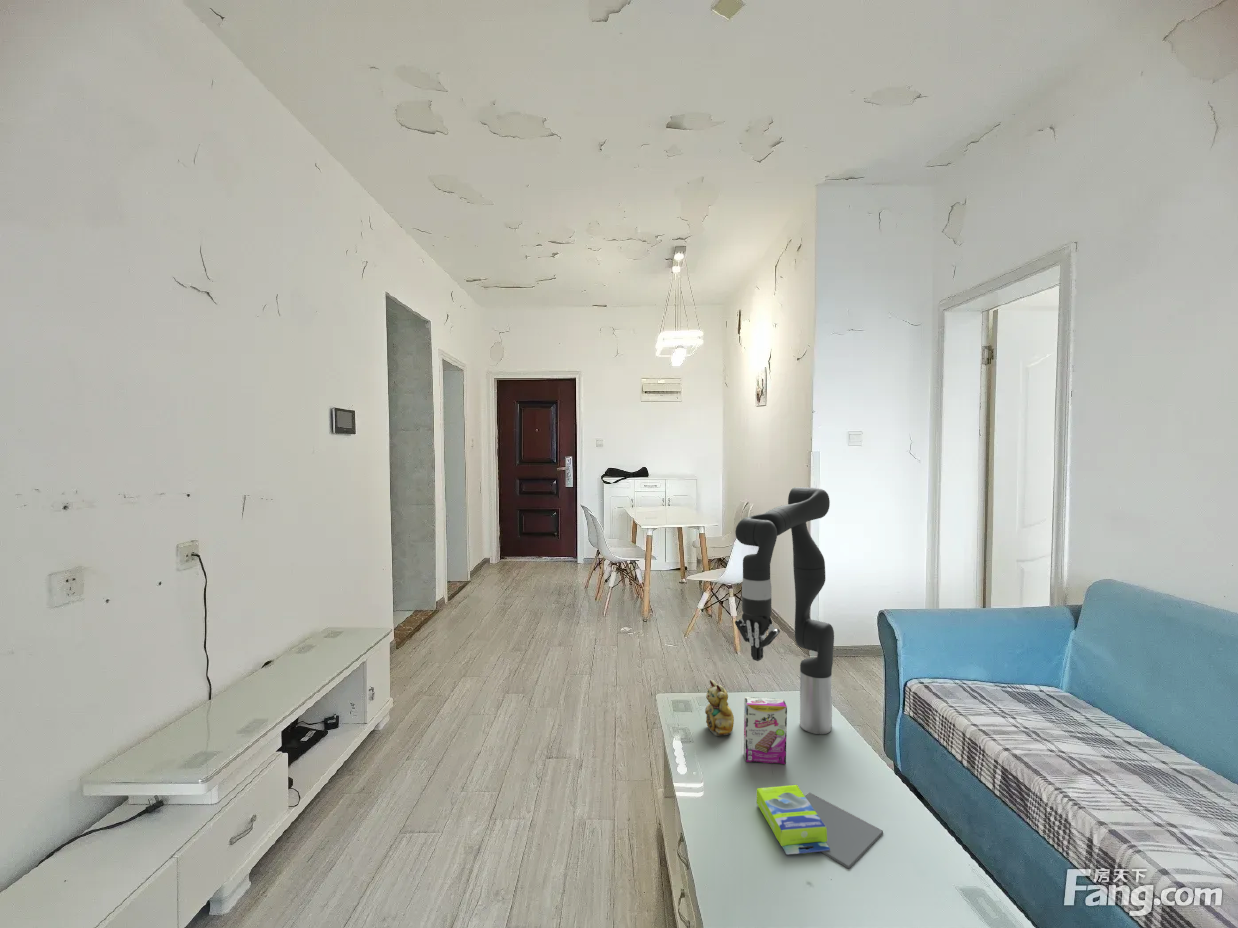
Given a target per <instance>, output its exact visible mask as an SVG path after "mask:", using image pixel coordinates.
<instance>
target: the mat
mask: <svg viewBox="0 0 1238 928" xmlns="http://www.w3.org/2000/svg"><path fill="white" fill-rule="evenodd" d="M804 796H805V797H806V799H807V800H808V801H809V803H810V804H811V806H812V807H813V809H814V810H815V812H816V813H817V814H818V816H819V817H820V819H821V820H822V822H823V823H824V824H825V826H826V828H827V841H826V844H827V845H828V847H829V848H830V850H827V851H819V852H820V853H821V854H824V855H825V857H828V858H830V859H832V860H833V861H835V862H837V863H838V864H840V865H842V866H844V867H845V868H846V869H850V868H851V867H853V865H854V864H855V863H856V862H857V861H858V860H859V859H860V858H861V857H862V856H863V855H864V854H865V853H866V852H867V851H868V850H869V848H871V846H873V845H874V843H876V841H877V840H878V839H879V838H880V837H882V835H883V834H884V829H880V828H879V827H878V826H875V825H873V824H871V823H870V822H867V821H866V820H864V819H861V818H860V817H857V816H856V815H854V814H852V813H850V812H848V811H846V810H845V809H842V808H840V807H838V806H836V805H835V804H832V803H831V802H829V801H827V800H825V799H823V798H821V797H819V796H817V795H816V794H813V793H812V792H808V793H807V794H806V795H804Z"/></svg>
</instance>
